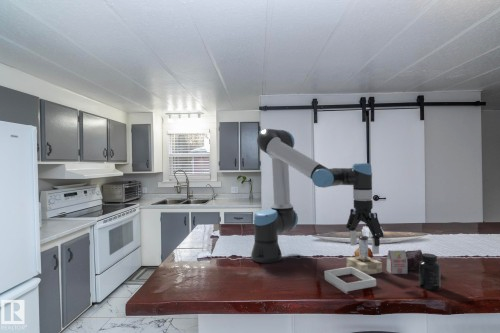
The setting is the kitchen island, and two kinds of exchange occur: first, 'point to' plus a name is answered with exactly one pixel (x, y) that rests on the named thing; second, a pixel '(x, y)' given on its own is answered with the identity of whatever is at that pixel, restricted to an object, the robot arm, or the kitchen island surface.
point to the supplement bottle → (429, 272)
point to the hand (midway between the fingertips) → (364, 249)
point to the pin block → (365, 265)
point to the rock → (413, 259)
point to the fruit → (368, 253)
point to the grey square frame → (343, 286)
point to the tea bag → (397, 262)
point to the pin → (363, 248)
